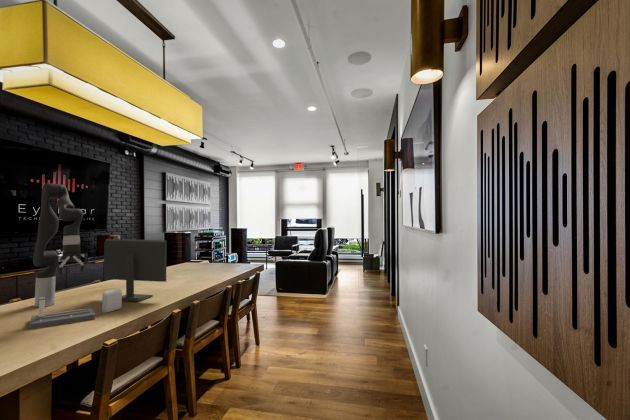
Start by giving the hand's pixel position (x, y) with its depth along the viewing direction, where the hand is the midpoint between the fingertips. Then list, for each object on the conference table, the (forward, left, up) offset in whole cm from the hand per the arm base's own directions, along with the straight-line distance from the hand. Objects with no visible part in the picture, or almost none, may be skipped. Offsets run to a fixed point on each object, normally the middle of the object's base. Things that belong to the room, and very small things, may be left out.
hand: (71, 273), depth 169 cm
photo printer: (0, +19, -24) cm, 31 cm away
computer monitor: (-22, +34, -24) cm, 47 cm away
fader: (+5, -12, -21) cm, 25 cm away
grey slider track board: (+5, -3, -24) cm, 24 cm away
